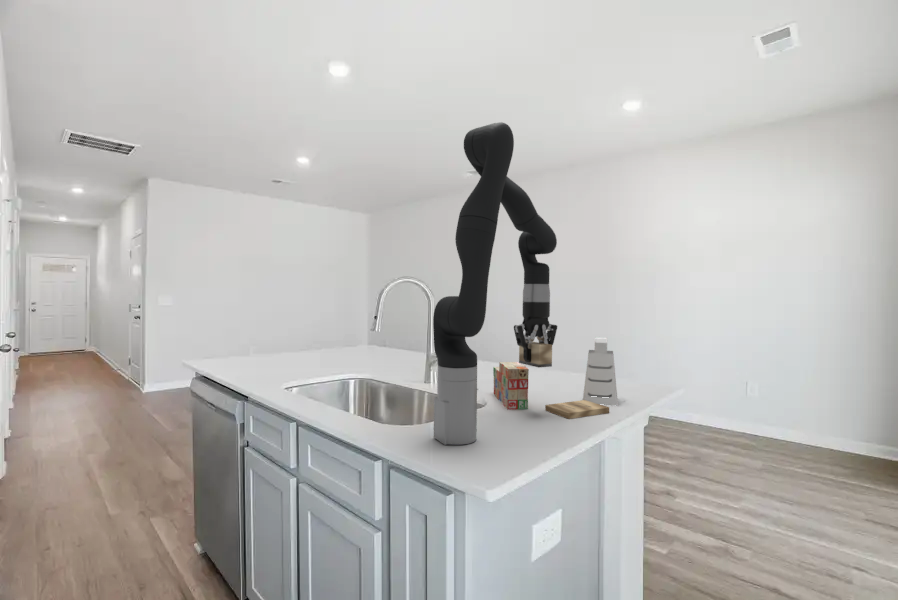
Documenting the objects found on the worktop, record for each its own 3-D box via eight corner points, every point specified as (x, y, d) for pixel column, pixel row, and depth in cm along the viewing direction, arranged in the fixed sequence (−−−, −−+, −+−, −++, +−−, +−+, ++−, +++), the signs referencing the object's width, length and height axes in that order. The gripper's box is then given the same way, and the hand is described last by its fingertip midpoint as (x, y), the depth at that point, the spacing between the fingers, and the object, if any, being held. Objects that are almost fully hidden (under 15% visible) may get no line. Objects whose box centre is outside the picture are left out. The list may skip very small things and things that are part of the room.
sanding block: (538, 367, 125) (539, 345, 125) (519, 362, 133) (519, 342, 133) (551, 366, 127) (552, 344, 127) (531, 362, 135) (532, 341, 135)
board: (568, 419, 126) (568, 413, 126) (545, 410, 135) (545, 404, 134) (609, 412, 132) (609, 407, 132) (584, 405, 141) (584, 399, 141)
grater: (582, 403, 144) (583, 339, 143) (583, 396, 154) (584, 336, 153) (618, 406, 140) (619, 340, 140) (617, 398, 150) (618, 337, 150)
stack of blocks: (493, 394, 156) (493, 357, 156) (511, 393, 157) (511, 357, 157) (507, 410, 135) (507, 368, 135) (528, 409, 136) (528, 368, 136)
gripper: (523, 300, 123) (522, 364, 123) (565, 300, 130) (564, 361, 130) (507, 300, 130) (506, 360, 130) (547, 300, 136) (546, 358, 137)
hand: (535, 360), depth 130 cm, fingers closed on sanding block, 4 cm apart
